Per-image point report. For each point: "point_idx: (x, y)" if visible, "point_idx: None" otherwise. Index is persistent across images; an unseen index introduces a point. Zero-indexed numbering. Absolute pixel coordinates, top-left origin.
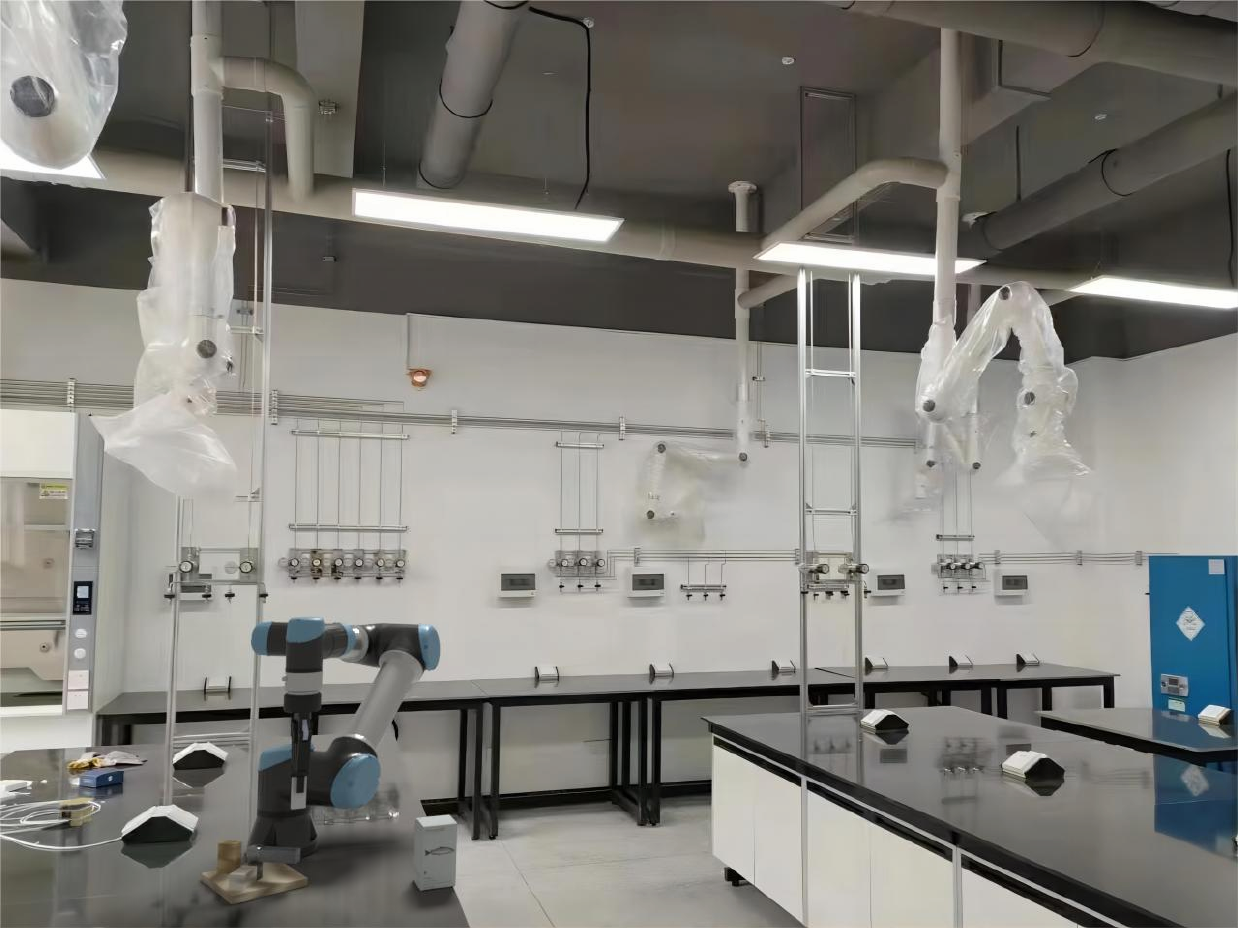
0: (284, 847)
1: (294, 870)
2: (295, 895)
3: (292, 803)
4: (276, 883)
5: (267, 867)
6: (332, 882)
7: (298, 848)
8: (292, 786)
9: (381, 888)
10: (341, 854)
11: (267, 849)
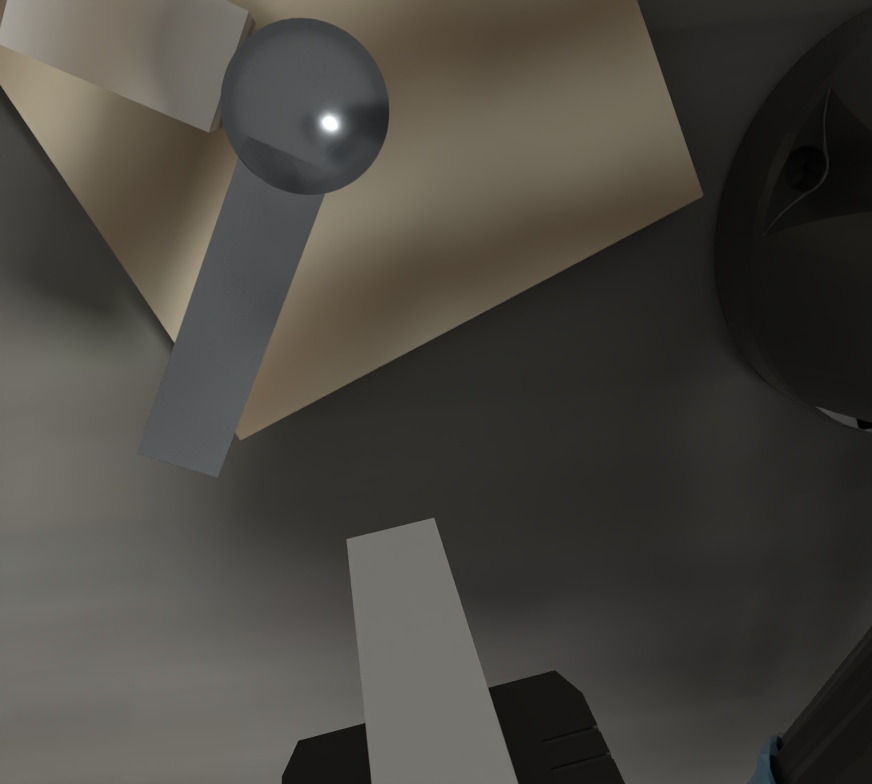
0: (251, 357)
1: (400, 350)
2: (83, 375)
3: (354, 584)
4: (167, 266)
5: (503, 173)
6: (272, 542)
7: (207, 465)
8: (402, 741)
9: (138, 761)
10: (713, 540)
11: (219, 221)
